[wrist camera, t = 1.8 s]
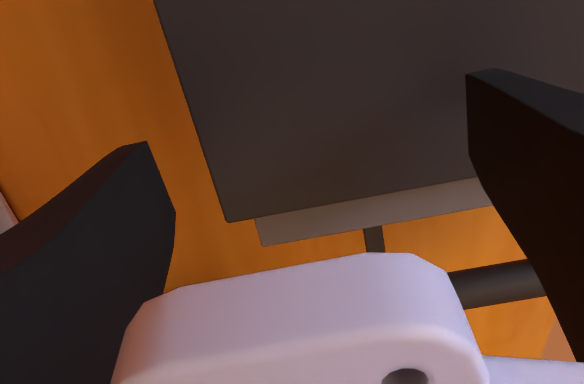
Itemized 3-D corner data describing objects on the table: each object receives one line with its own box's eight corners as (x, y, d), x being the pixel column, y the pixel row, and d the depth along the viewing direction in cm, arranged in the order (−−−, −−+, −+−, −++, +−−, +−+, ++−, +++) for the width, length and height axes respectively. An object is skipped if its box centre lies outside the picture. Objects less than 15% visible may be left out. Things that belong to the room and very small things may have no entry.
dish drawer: (580, 196, 24) (672, 304, 19) (290, 248, 25) (297, 366, 20) (645, -420, 14) (892, -582, 8) (150, -291, 15) (82, -361, 9)
